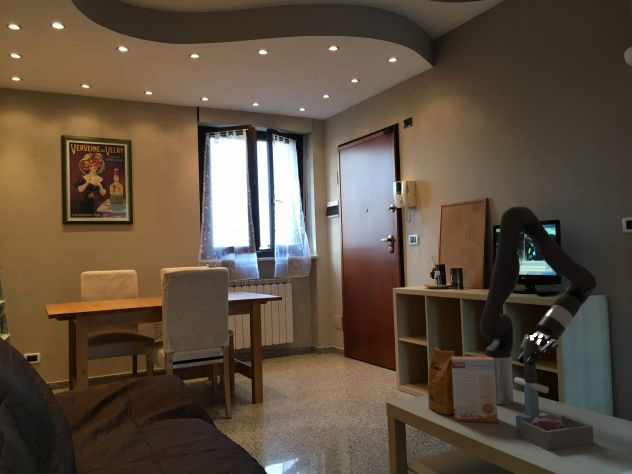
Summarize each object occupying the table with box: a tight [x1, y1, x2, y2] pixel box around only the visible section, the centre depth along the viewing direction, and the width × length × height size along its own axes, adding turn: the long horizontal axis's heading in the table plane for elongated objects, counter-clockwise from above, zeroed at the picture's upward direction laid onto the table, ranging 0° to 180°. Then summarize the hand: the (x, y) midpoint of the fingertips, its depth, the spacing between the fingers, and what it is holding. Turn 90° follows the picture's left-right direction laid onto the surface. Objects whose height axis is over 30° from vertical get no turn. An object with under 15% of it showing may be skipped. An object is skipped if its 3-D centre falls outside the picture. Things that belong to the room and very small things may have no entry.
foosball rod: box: [513, 339, 550, 431], centre depth 158 cm, size 14×10×28 cm
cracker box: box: [452, 356, 499, 424], centre depth 170 cm, size 14×6×21 cm, turn 74°
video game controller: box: [531, 417, 566, 431], centre depth 151 cm, size 10×5×7 cm, turn 63°
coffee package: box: [427, 347, 457, 416], centre depth 181 cm, size 10×12×22 cm
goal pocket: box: [519, 414, 595, 451], centre depth 148 cm, size 12×16×5 cm
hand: (524, 363), depth 158 cm, fingers closed on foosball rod, 3 cm apart
